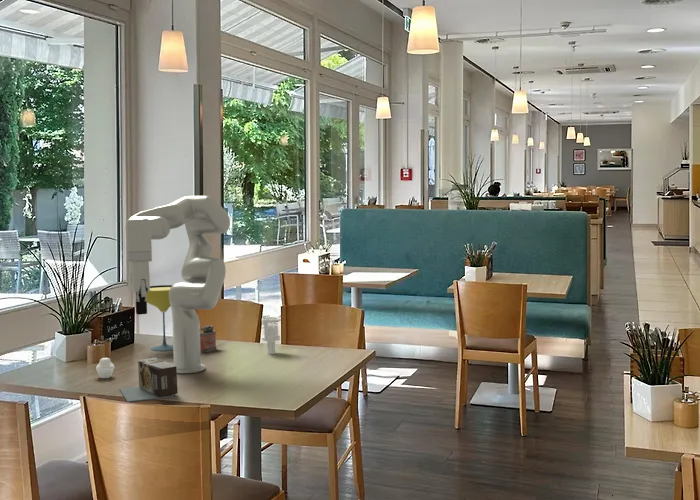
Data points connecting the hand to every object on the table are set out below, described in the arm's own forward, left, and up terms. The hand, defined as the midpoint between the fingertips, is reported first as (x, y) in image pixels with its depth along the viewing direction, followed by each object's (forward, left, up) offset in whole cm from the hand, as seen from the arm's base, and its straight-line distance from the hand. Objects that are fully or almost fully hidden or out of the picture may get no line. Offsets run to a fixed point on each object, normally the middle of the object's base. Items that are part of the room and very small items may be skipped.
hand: (141, 313), depth 245 cm
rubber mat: (+4, 0, -25) cm, 25 cm away
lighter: (-52, +34, -25) cm, 67 cm away
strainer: (-35, +55, -25) cm, 70 cm away
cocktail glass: (-64, +19, -25) cm, 71 cm away
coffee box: (-4, +2, -20) cm, 20 cm away
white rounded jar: (-24, -9, -25) cm, 36 cm away
